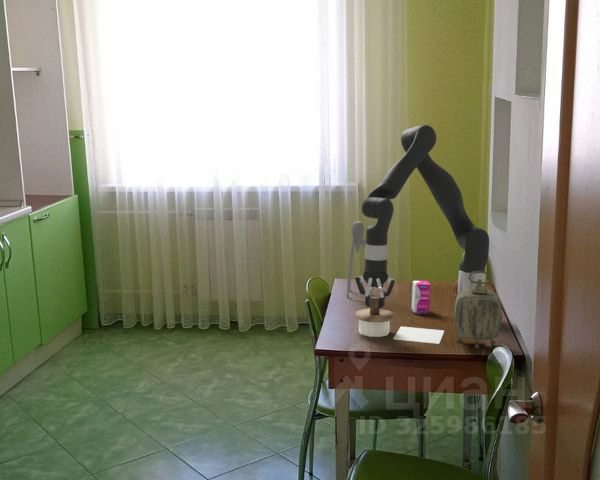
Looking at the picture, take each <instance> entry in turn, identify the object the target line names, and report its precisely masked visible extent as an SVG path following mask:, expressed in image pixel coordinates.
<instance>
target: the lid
mask: <svg viewBox="0 0 600 480" xmlns="http://www.w3.org/2000/svg"><path fill="white" fill-rule="evenodd" d="M354 315H355V319H356V320H358V321H359V320H362V321H366V322H387V321H390V322H391V321H393V320H394V319H395V313H394V312H392V311H390V310H387V309H383V308H380V297H378V296H371V297H370V307H369V308H363V309H359V310H356V311H355V314H354Z"/></svg>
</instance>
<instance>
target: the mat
mask: <svg viewBox="0 0 600 480" xmlns="http://www.w3.org/2000/svg"><path fill="white" fill-rule="evenodd" d="M444 334H445V330H443V329H442V330H441V329H432V328H431V329H430V328H423V327H412V326H410V327H409V326H402V325H401V326H400V327H399V328H398V331H397V332H396V334H395V335H394V336H393V340H396V341H407V342H414V343H424V344H427V343H428V344H434V345H436V344H437V345H439V344H440V343H441V341H442V338H443V336H444Z"/></svg>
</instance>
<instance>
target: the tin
mask: <svg viewBox="0 0 600 480" xmlns="http://www.w3.org/2000/svg"><path fill="white" fill-rule="evenodd" d="M457 294H458V279H457V280H456V281H455V282H454V284H453V299H454V301H455V300H456V296H457Z"/></svg>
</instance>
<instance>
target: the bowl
mask: <svg viewBox="0 0 600 480" xmlns="http://www.w3.org/2000/svg"><path fill="white" fill-rule="evenodd" d="M390 323H391V321H387V322H366V321H362V320H359V319H358V332H359V334H360V335H362V336H366V337H371V338H373V337H374V338H380V337H386V336H388V335H389V333H390V329H391V328H390V325H391V324H390Z"/></svg>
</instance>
